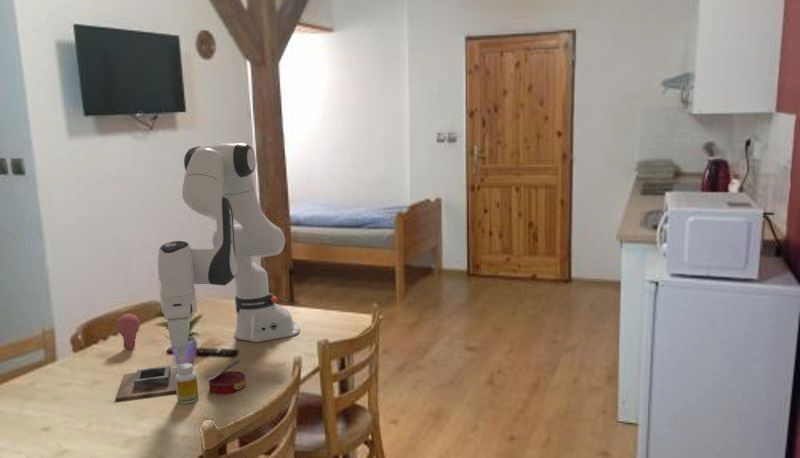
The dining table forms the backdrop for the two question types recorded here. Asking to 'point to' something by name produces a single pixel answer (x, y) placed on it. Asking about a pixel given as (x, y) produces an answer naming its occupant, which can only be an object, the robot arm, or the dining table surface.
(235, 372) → the canned food
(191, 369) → the supplement bottle
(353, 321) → the dining table surface
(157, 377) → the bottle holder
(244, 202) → the robot arm
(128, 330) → the light bulb
